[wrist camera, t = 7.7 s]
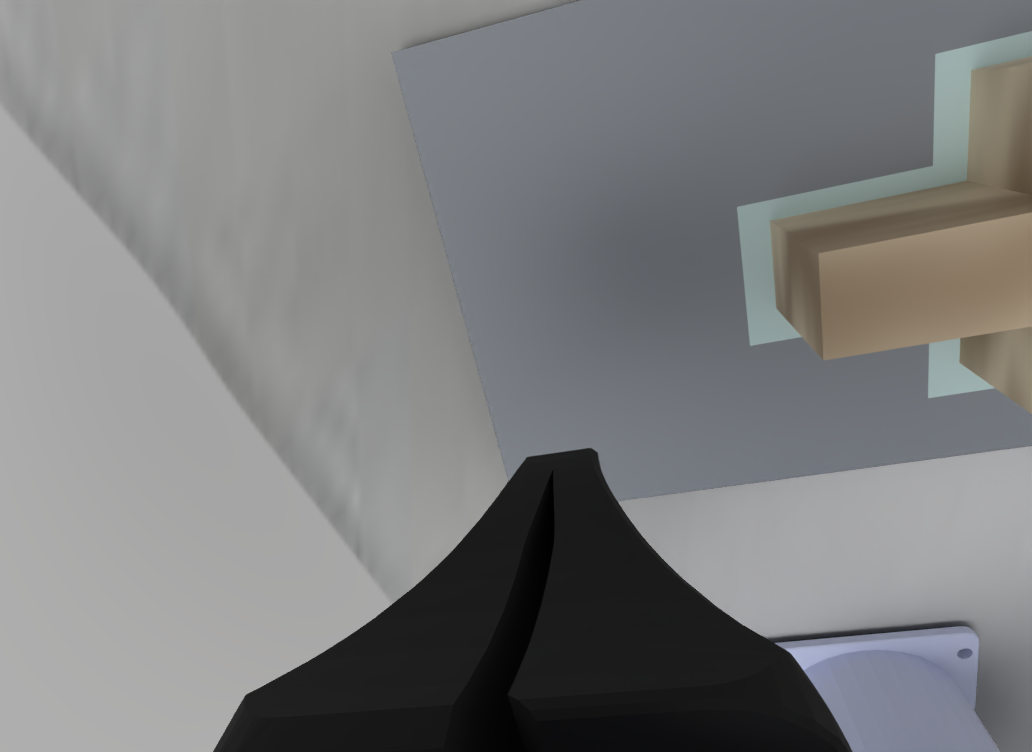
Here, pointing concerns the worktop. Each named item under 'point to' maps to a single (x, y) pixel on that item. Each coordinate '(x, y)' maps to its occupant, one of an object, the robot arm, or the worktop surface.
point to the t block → (929, 254)
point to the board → (697, 226)
